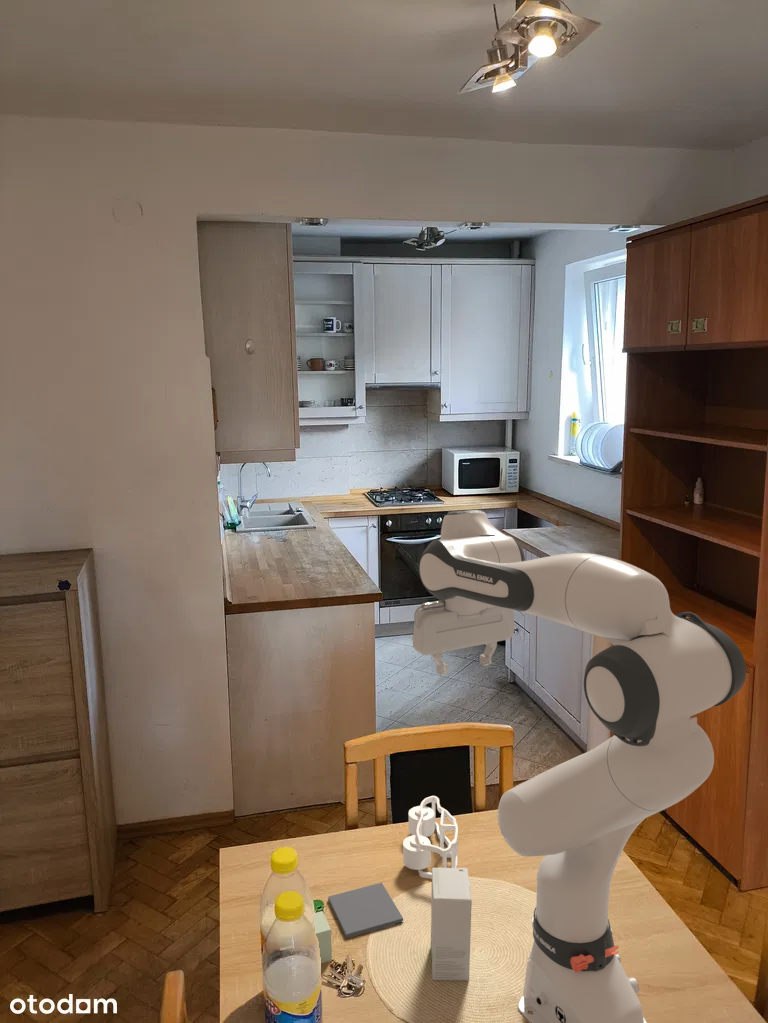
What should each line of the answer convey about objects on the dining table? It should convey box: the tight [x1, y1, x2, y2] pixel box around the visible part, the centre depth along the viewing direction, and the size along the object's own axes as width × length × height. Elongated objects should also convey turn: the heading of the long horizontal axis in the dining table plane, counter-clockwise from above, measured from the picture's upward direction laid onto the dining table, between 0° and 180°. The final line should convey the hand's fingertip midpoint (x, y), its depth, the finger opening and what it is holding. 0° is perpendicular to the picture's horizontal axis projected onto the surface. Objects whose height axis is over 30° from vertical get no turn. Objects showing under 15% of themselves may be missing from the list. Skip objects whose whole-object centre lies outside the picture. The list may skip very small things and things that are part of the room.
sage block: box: [312, 910, 333, 964], centre depth 132 cm, size 5×5×6 cm
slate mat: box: [327, 882, 404, 939], centre depth 143 cm, size 11×11×1 cm
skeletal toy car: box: [402, 795, 459, 880], centre depth 160 cm, size 20×11×7 cm, turn 172°
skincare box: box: [430, 867, 473, 981], centre depth 129 cm, size 8×7×16 cm
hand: (464, 668), depth 142 cm, fingers open, 8 cm apart
